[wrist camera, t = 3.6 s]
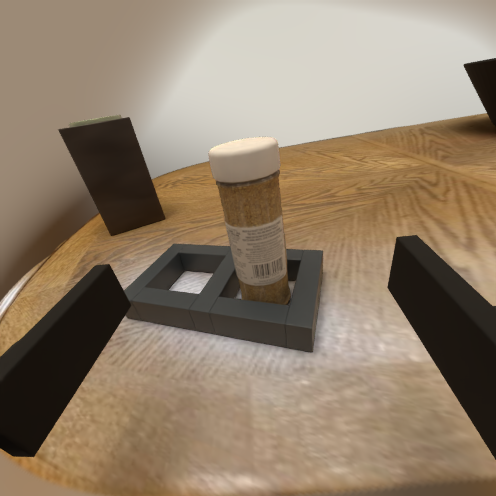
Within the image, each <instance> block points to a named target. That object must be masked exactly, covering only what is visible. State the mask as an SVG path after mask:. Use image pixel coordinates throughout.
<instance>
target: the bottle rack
mask: <svg viewBox="0 0 496 496" xmlns="http://www.w3.org/2000/svg"><path fill="white" fill-rule="evenodd" d="M286 253H287V275H288V280H296V283H295V287H294V291H293V295H292V298H291V302H290V306H289V305H281V304H273V303H265V302H258V301H250V300H242V299H234V298H235V296H236V294H237V292H238V290H239V288H240V284H239V279H238V276H237V274H236V270H235V265H234V260H233V256H232V251H231V246H212V245H191V244H173V245H172V246H171V247H170V248H169V249H168V250H167V251H166V252H165V253H163V254H162V255H161V256H160V257H159V258H158V259H157V260H156V261H155V262H154V263H153V264H152V265H151V266H150V267H149V268H148V269H146V270H145V271H144V272H143V273H142V274H141V275H140V276H139V277H138V278H137V279H136V280H135V281H134V282H133V283H132V284H131V285H129V286H128V287H127V288H126V289H125V290H124V292H125V294H126V296H127V298H128V300H129V301H130V303H131V307H130V309H129V310H128V312H127V313H126V317H127V318H132V319H137V320H142V321H147V322H153V323H158V324H164V325H169V326H174V327H180V328H185V329H190V330H197V331H201V332H207V333H212V334H217V335H222V336H228V337H233V338H238V339H244V340H249V341H254V342H260V343H265V344H270V345H276V346H281V347H288V348H292V349H297V350H303V351H308V352H313V345H314V337H315V330H316V322H317V314H318V306H319V298H320V290H321V282H322V274H323V251H321V250H296V249H286ZM184 270H188V271H199V272H210V273H214V274H213V275H212V277H211V278H210V280H209V281H208V283H207V284H206V286H205V287H204V288H203V290H202V291H201V293H200V294H194V293H186V292H178V291H170V290H168V289H169V288H170V287H171V286H172V284H173V283H174V282H175V281H176V280H177V279H178V277H179V276H180V275H181V274H182V273H183V272H184Z"/></svg>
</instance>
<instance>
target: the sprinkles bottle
mask: <svg viewBox="0 0 496 496" xmlns="http://www.w3.org/2000/svg"><path fill="white" fill-rule="evenodd" d="M208 154H209V161H210V166H211V170H212V175H213V178H214V179H215V180H216V185H217V186H218V188H219V193H220V197H221V203H222V206H223V211H224V216H225V224H226V228H227V233H228V237H229V242H230V246H231V251H232V256H233V260H234V265H235V270H236V274H237V276H238V279H239V284H240V289H241V293H242V300H250V301H258V302H265V303H273V304H281V305H287V304H288V302H289V300H290V297H291V292H290V288H289V286H288V275H287V253H286V242H285V233H284V227H283V217H282V216H283V215H282V208H281V197H280V188H279V179H278V177H279V174H280V170H279V168H280V156H279V147H278V142H277V140H276V139H275V138H272V137H255V138H247V139H241V140H235V141H231V142H227V143H224V144H220V145H218V146H215V147H213V148H212V149H210V151H209V153H208Z"/></svg>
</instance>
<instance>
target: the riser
mask: <svg viewBox="0 0 496 496" xmlns="http://www.w3.org/2000/svg"><path fill="white" fill-rule="evenodd" d="M59 132H60V134H61V136H62V138H63V140H64V142H65V144H66V146H67V148H68V150H69V152H70V154H71V156H72V158H73V160H74V162H75V164H76V166H77V168H78V170H79V172H80V174H81V176H82V178H83V180H84V182H85V184H86V186H87V188H88V190H89V192H90V194H91V196H92V198H93V200H94V202H95V204H96V206H97V208H98V210H99V212H100V215H101V217H102V219H103V221H104V223H105V225H106V227H107V229H108V231H109V233H110V235H111V236H112V235H116V234H119V233H122V232H125V231H128V230H132V229H135V228H138V227H141V226H145V225H148V224H151V223H154V222H157V221H161V220H164V219H165V216H164V214H163V211H162V208H161V205H160V202H159V199H158V197H157V194H156V191H155V188H154V185H153V182H152V180H151V177H150V174H149V171H148V168H147V166H146V163H145V160H144V157H143V154H142V152H141V148H140V146H139V143H138V140H137V138H136V134H135V132H134V129H133V126H132V123H131V120H130V118H129V117H127V118H121V119H115V120H109V121H104V122H98V123H92V124H86V125H81V126H75V127H69V128H63V129H59Z"/></svg>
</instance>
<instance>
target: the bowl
mask: <svg viewBox="0 0 496 496" xmlns="http://www.w3.org/2000/svg"><path fill="white" fill-rule="evenodd" d="M464 68H465V70H466V71H467V73H468V76H469V77H470V80H471V82H472V84H473V86H474V88H475V89H476V91H477V93H478V96H479V98H480V100H481V101H482V104H483V106H484V107H485V110H486V111H487V114H488V116H489V118H490V120H491V122H492V123H493V124H494V125H495V126H496V58H494V59H489V60H483V61H477V62H471V63H467V64H464Z"/></svg>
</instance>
